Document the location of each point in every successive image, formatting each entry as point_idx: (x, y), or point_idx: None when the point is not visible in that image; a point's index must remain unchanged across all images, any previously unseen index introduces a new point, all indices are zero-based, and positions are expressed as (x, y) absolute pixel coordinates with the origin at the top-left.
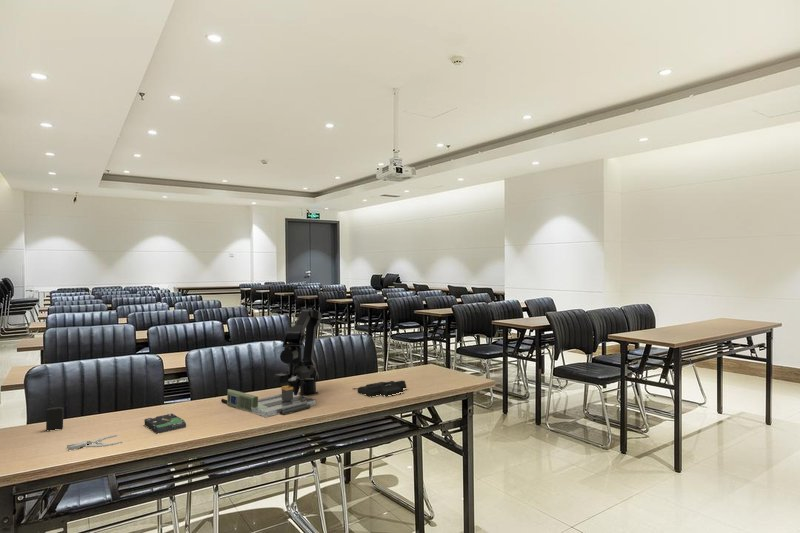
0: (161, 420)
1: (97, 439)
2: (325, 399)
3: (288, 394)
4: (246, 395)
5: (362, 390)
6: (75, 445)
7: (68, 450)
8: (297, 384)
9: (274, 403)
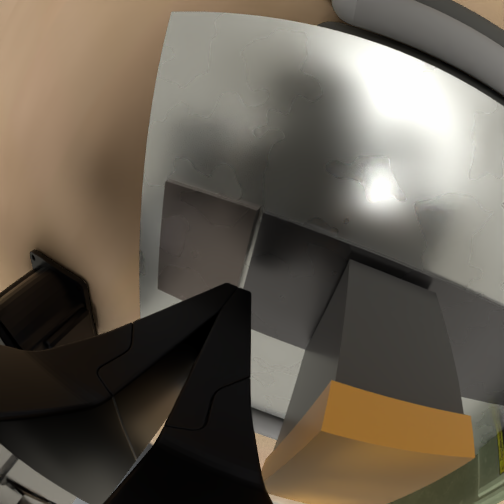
0: None
1: None
2: (61, 96)
3: (429, 347)
4: (499, 501)
5: None
6: None
7: None
8: (130, 400)
9: (495, 361)
